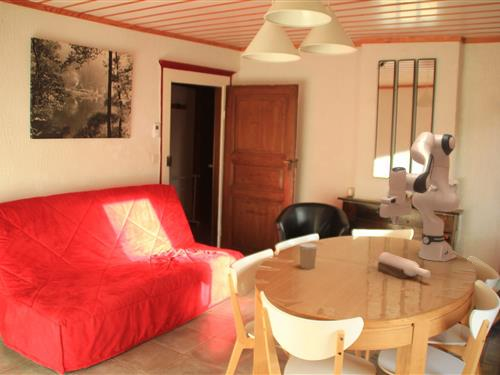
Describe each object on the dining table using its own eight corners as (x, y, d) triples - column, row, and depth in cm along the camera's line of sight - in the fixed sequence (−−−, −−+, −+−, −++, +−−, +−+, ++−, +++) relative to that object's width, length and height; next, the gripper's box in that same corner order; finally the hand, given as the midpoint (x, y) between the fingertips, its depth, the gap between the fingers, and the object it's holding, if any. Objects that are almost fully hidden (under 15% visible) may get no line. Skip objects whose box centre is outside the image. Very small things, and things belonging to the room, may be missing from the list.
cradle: (396, 267, 277) (396, 259, 276) (419, 275, 263) (419, 266, 263) (377, 270, 270) (378, 262, 270) (400, 279, 257) (401, 270, 256)
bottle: (389, 263, 276) (434, 279, 251) (378, 268, 273) (423, 284, 247) (388, 249, 275) (433, 264, 249) (377, 254, 271) (422, 269, 245)
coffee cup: (318, 265, 277) (319, 244, 275) (313, 270, 269) (313, 248, 267) (302, 263, 281) (302, 242, 279) (296, 267, 273) (297, 246, 271)
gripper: (406, 196, 273) (404, 221, 275) (378, 198, 262) (376, 225, 264) (415, 198, 268) (413, 223, 269) (387, 200, 257) (385, 227, 259)
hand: (395, 224), depth 267 cm, fingers closed
